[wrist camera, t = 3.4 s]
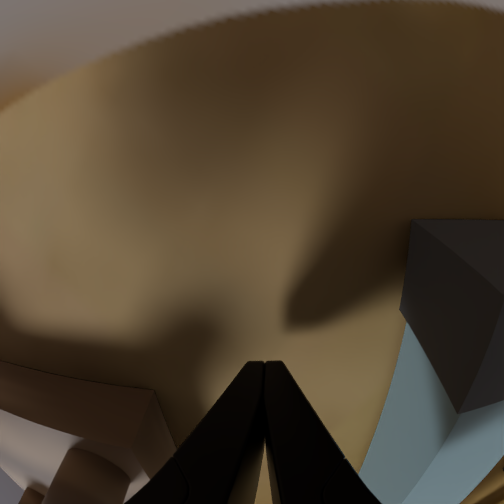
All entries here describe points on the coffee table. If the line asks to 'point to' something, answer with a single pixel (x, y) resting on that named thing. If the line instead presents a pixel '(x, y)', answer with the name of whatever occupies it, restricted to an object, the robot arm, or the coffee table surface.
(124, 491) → the stool seat
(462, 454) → the hinged leg
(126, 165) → the coffee table surface
